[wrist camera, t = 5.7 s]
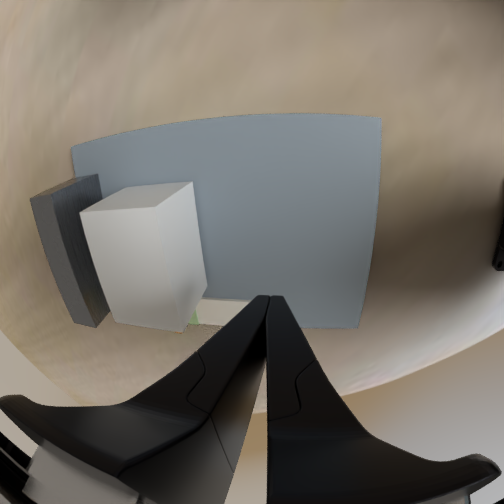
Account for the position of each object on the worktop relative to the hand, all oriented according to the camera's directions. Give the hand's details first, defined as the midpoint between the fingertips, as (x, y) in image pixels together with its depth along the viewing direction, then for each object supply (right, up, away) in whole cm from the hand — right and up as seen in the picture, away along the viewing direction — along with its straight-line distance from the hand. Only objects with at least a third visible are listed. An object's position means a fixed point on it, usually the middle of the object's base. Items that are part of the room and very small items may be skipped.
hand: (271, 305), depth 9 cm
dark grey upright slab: (-10, +3, +7) cm, 13 cm away
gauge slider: (-5, +1, +6) cm, 8 cm away
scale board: (-3, +3, +7) cm, 8 cm away
